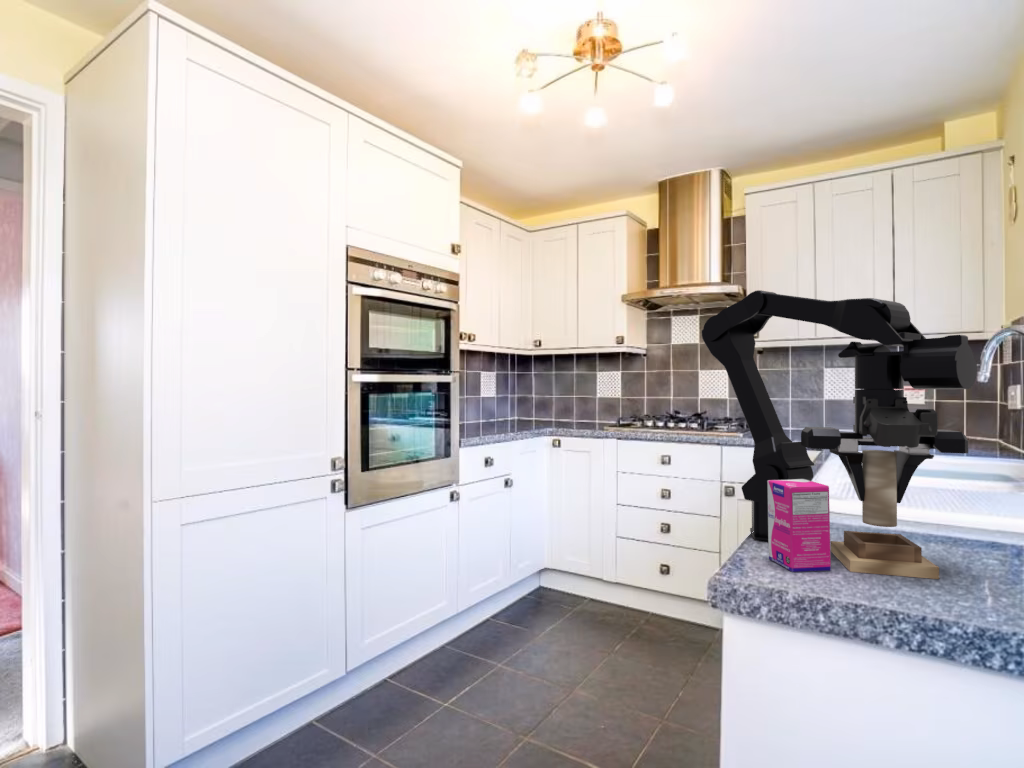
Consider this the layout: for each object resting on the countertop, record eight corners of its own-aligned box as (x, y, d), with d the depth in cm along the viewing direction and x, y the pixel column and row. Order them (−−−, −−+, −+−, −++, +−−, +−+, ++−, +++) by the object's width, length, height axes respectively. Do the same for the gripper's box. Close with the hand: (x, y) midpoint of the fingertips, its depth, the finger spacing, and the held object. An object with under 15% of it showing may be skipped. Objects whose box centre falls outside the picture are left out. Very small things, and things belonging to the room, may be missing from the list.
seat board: (850, 571, 73) (849, 545, 74) (830, 551, 83) (830, 527, 83) (939, 579, 70) (938, 551, 71) (908, 557, 80) (908, 532, 80)
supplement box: (766, 559, 79) (766, 479, 79) (806, 558, 79) (805, 478, 79) (790, 572, 73) (789, 485, 73) (832, 571, 74) (832, 485, 74)
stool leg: (867, 525, 76) (867, 452, 76) (858, 519, 79) (858, 449, 80) (901, 528, 74) (901, 453, 75) (891, 521, 78) (890, 450, 78)
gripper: (817, 389, 72) (817, 509, 72) (990, 389, 67) (991, 519, 67) (800, 389, 83) (800, 493, 83) (948, 389, 77) (948, 501, 77)
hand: (879, 501), depth 77 cm, fingers closed on stool leg, 4 cm apart
